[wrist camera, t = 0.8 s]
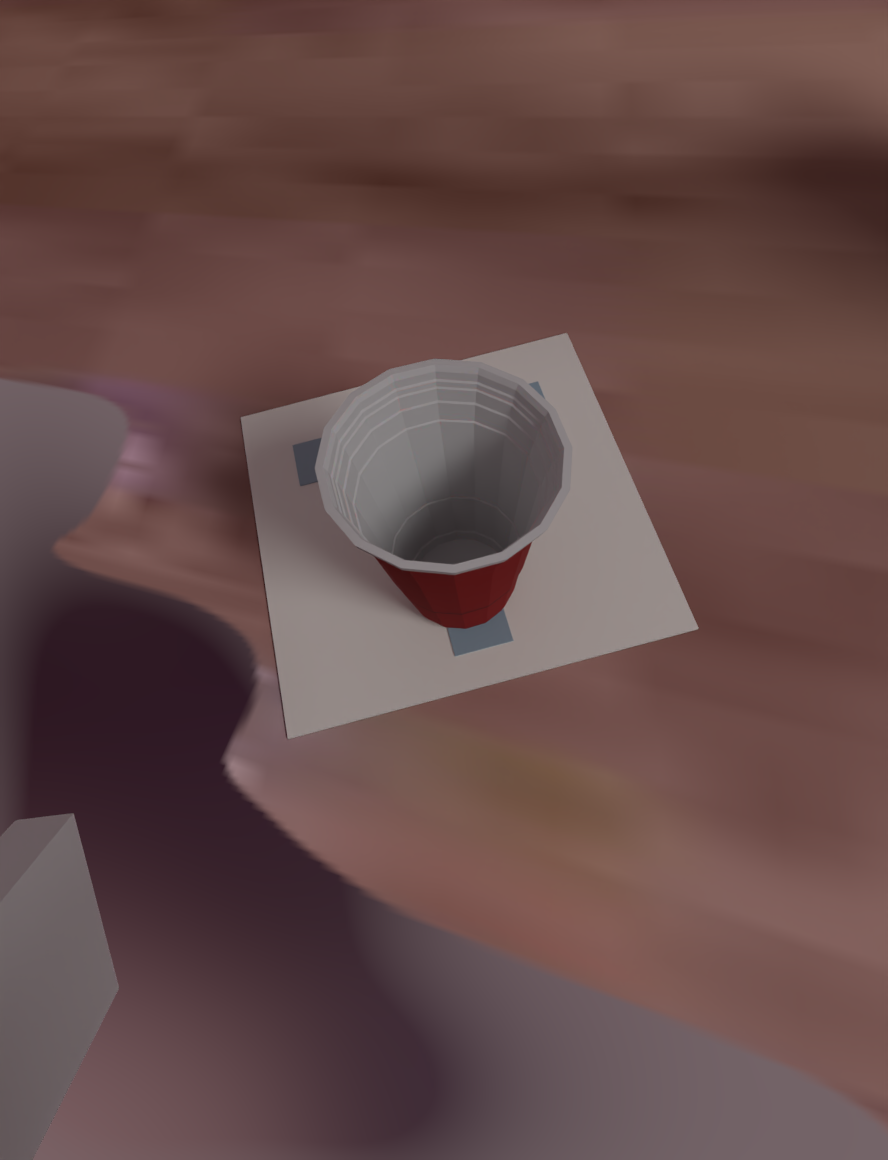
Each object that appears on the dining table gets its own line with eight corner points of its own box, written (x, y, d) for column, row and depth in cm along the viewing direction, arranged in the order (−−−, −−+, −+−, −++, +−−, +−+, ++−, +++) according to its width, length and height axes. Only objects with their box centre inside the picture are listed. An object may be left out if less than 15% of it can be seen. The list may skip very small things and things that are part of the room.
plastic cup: (535, 700, 39) (535, 595, 28) (340, 646, 41) (273, 532, 31) (585, 523, 43) (601, 375, 33) (406, 484, 46) (368, 336, 35)
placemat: (566, 334, 50) (566, 331, 50) (698, 629, 40) (699, 627, 40) (240, 418, 50) (240, 416, 50) (288, 739, 39) (287, 738, 39)
